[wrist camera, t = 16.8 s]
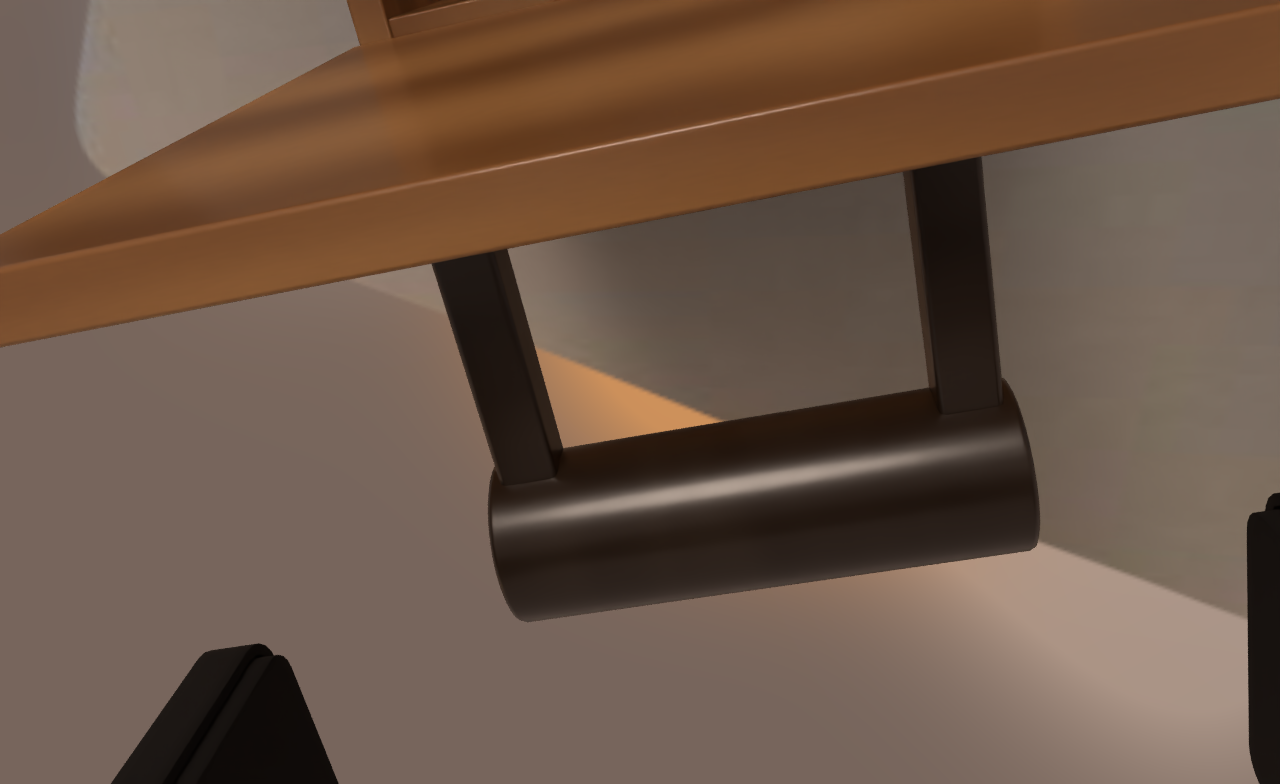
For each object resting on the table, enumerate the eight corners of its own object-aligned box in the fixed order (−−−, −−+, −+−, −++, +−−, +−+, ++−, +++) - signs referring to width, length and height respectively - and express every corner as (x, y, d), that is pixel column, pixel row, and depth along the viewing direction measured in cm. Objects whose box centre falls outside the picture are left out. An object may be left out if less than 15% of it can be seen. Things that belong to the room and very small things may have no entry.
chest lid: (-109, 290, 11) (130, 737, 13) (1652, -74, 9) (1560, 545, 11) (352, 47, 25) (428, 288, 27) (1076, -118, 22) (1090, 162, 25)
